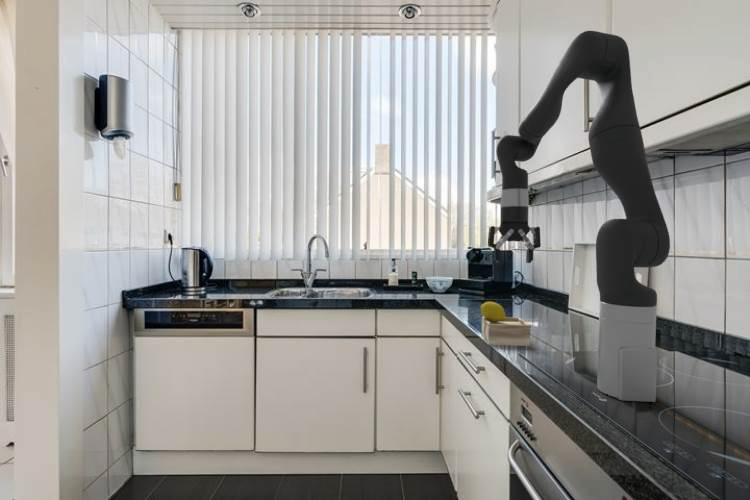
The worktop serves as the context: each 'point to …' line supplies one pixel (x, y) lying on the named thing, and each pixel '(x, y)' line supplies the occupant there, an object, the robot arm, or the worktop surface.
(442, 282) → the chinaware
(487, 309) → the lemon
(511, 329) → the wooden box
